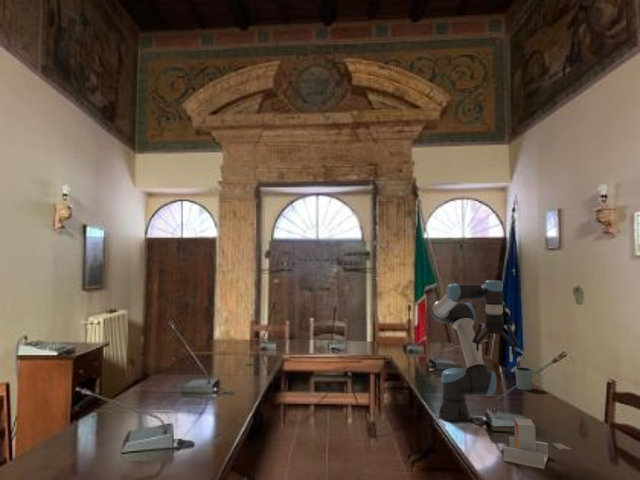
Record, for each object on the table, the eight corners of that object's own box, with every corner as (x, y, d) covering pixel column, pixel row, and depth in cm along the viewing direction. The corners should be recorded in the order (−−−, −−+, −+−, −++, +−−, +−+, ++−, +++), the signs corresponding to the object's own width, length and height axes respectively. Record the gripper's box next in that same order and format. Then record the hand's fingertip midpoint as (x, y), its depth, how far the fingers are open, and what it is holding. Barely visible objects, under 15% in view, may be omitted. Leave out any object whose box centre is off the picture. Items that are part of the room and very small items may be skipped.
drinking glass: (530, 386, 286) (529, 367, 287) (536, 390, 276) (535, 370, 277) (513, 386, 287) (512, 366, 288) (518, 390, 277) (518, 370, 278)
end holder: (503, 460, 176) (503, 447, 176) (510, 448, 187) (509, 436, 187) (544, 468, 168) (543, 455, 169) (548, 456, 180) (547, 443, 180)
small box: (514, 450, 183) (513, 417, 183) (531, 452, 181) (530, 418, 182) (518, 459, 175) (517, 424, 175) (536, 460, 173) (535, 425, 174)
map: (557, 443, 193) (557, 441, 193) (604, 463, 174) (604, 460, 174) (548, 445, 191) (548, 443, 191) (595, 465, 172) (595, 462, 172)
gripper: (465, 313, 216) (466, 358, 215) (521, 315, 203) (523, 364, 201) (469, 311, 222) (470, 355, 221) (524, 314, 209) (526, 361, 208)
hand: (495, 359), depth 211 cm, fingers open, 13 cm apart
